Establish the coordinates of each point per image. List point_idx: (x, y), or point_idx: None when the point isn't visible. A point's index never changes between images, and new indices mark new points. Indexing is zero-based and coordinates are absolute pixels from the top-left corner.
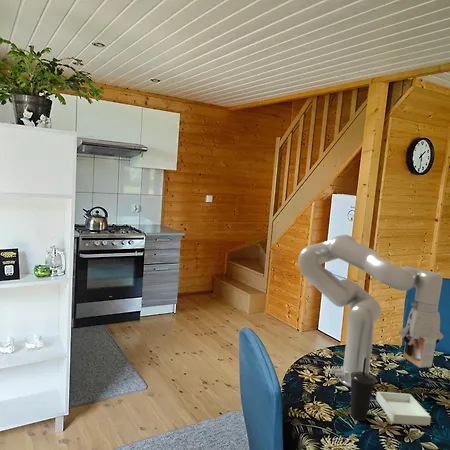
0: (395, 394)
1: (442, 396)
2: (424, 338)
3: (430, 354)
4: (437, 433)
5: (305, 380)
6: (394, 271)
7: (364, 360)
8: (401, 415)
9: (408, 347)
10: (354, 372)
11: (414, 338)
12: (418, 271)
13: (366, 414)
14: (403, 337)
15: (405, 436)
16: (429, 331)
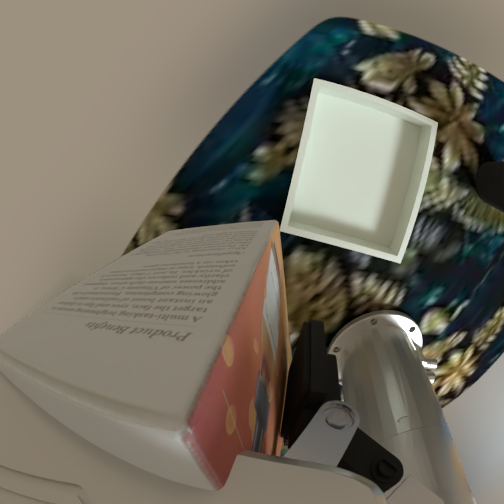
0: (341, 239)
1: (141, 238)
2: (167, 448)
3: (148, 258)
4: (315, 53)
5: (479, 353)
6: None
7: None
8: (416, 112)
9: (333, 386)
10: None
11: (345, 473)
12: None
13: (492, 163)
14: (402, 479)
15: (423, 68)
16: (6, 495)
